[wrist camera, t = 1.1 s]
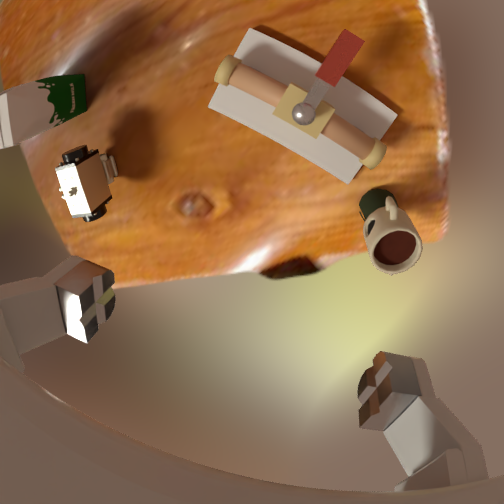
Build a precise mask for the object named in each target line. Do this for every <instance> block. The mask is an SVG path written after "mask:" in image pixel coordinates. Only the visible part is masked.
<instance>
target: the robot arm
mask: <svg viewBox="0 0 504 504" xmlns="http://www.w3.org/2000/svg"><path fill="white" fill-rule="evenodd" d="M114 283H115V280H114V273H113V272H112V271H111V270H109V269H107V268H105V267H102V266H100V265H97V264H95V263H93V262H90V261H88V260H85V259H83V258H81V257H78V256H70V257H69V258H68V259H66V260H65V261H63V262H62V263H61V264H59V265H58V266H57V267H56V268H54V269H53V270H51V271H50V272H49V273H47V274H46V275H45V276H43V277H42V278H40V277H34V278H30V279H25V280H21V281H17V282H12V283H8V284H4V285H0V504H504V475H501V476H498V477H494V478H490V479H489V478H488V472H487V468H486V463H485V459H484V455H483V450H482V447H481V445H480V444H479V442H478V441H477V440H476V439H475V438H474V437H473V435H472V434H471V433H470V432H469V431H468V430H467V429H466V427H465V426H464V425H463V424H462V423H461V422H460V421H459V419H458V418H457V417H456V416H455V415H454V414H453V413H452V412H451V411H450V409H449V408H448V407H447V406H446V405H445V404H444V403H443V402H442V401H441V400H440V399H439V398H436V396H435V393H434V389H433V386H432V383H431V379H430V376H429V373H428V369H427V366H426V363H425V361H424V360H423V359H422V358H416V357H410V356H409V357H407V356H403V355H397V354H393V353H388V352H382V351H380V352H379V353H378V354H376V356H375V357H374V359H373V366H372V367H370V368H368V369H367V370H365V372H364V374H363V375H362V377H361V379H360V382H359V385H358V399H359V401H360V402H361V403H362V407H361V408H360V409H359V427H360V428H363V429H370V430H378V431H384V432H383V433H384V435H385V437H386V438H387V440H388V442H389V443H390V445H391V447H392V449H393V450H394V452H395V454H396V456H397V457H398V459H399V461H400V463H401V464H402V466H403V468H404V470H405V471H406V473H407V475H408V478H406V479H405V480H403V481H402V482H400V483H398V484H397V485H396V486H395V491H391V492H390V491H389V492H361V491H338V490H326V489H316V488H306V487H299V486H293V485H286V484H280V483H274V482H269V481H264V480H259V479H254V478H250V477H245V476H241V475H237V474H233V473H229V472H225V471H222V470H218V469H215V468H211V467H208V466H205V465H201V464H198V463H195V462H192V461H189V460H186V459H183V458H180V457H177V456H175V455H172V454H169V453H167V452H164V451H162V450H159V449H156V448H154V447H152V446H149V445H147V444H145V443H142V442H140V441H138V440H135V439H133V438H131V437H129V436H127V435H124V434H122V433H120V432H118V431H116V430H114V429H112V428H110V427H108V426H106V425H104V424H102V423H100V422H98V421H96V420H95V419H93V418H91V417H89V416H87V415H85V414H84V413H82V412H80V411H78V410H77V409H75V408H74V407H72V406H70V405H69V404H67V403H65V402H64V401H62V400H60V399H59V398H57V397H56V396H54V395H53V394H51V393H50V392H48V391H47V390H45V389H44V388H42V387H41V386H39V385H38V384H37V383H35V382H34V381H32V380H31V379H29V378H28V377H26V376H25V375H24V374H23V373H22V372H23V371H24V364H23V362H22V360H21V358H20V354H23V353H25V352H27V351H29V350H32V349H34V348H36V347H38V346H41V345H43V344H45V343H47V342H50V341H52V340H54V339H57V338H59V337H61V336H63V335H66V333H67V334H69V335H71V336H73V337H75V338H77V339H79V340H81V341H83V342H85V343H88V342H89V341H90V339H91V338H92V337H93V336H94V335H95V334H96V332H97V331H98V324H100V323H103V322H106V321H107V320H108V319H109V317H110V316H111V314H112V312H113V310H114V307H115V293H114V291H113V289H112V288H111V286H112V285H113V284H114Z"/></svg>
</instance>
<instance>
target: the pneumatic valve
mask: <svg viewBox="0 0 504 504" xmlns="http://www.w3.org/2000/svg"><path fill="white" fill-rule="evenodd" d="M62 158H63V161H64V162H63V163H62V162H61V163H59V166H58V167H56V168H55V170H56V173H57V176H58V179H59V182H60V185H61V187H60V188H59V191H63V193H64V194H63V195H62V198H63V199H66V202H67V204H68V207H69V210H70V212H71V215H72V217H73V218H78V217H83V219H84V221H85V222H90V221H94V220H96V219H99V218H100V217H102V216H103V215H104V214H105V213H106V212H107V209H106V206H105V204H108V203H109V201H110V200H111V199H112V195H111V192H110V189H109V186H108V184H110V183H112V182H113V181H114V178H113V176H115V177H117V175H118V170H117V167H116V163H115V159H114V157H113V156H112V155H111V156H109V158H108V157H107V154H106V153H104V154H101V155H99V151H98V149H96V150H93V149H92V150H90V151H88V148H87V145H82V146H79V147H76V148H74V149H71V150H69V151H67V152H65V153H64V154H62Z"/></svg>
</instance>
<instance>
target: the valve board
mask: <svg viewBox="0 0 504 504" xmlns="http://www.w3.org/2000/svg"><path fill="white" fill-rule="evenodd" d="M320 65H321V63H320V62H318V61H316V60H314V59H313V58H311V57H309V56H307V55H305V54H303V53H302V52H300V51H298V50H296V49H294V48H292V47H290V46H288V45H286V44H284V43H282V42H280V41H278V40H276V39H274V38H271V37H269V36H267V35H265V34H263V33H260V32H258V31H256V30H254V29H251V28H249V30H248V31H247V33H246V35H245V37H244V38H243V40H242V42H241V44H240V45H239V47H238V49H237V51H236V53H235V55H234V56H232V55H228V56H226V57H225V59H224V60H223V61H222V63H221V64H220V66H219V68H218V70H217V72H216V75H215V78H214V81H215V82H217V83H219V85H218V87H217V89H216V91H215V93H214V95H213V97H212V99H211V101H210V103H209V106H208V107H209V108H211V109H213V110H215V111H217V112H219V113H222V114H224V115H226V116H228V117H230V118H232V119H234V120H236V121H238V122H240V123H242V124H244V125H246V126H248V127H250V128H252V129H254V130H255V131H257V132H259V133H261V134H263V135H265V136H267V137H269V138H270V139H272V140H274V141H276V142H278V143H280V144H281V145H283V146H285V147H287V148H289V149H290V150H292V151H294V152H296V153H297V154H299V155H301V156H302V157H304V158H306V159H308V160H309V161H311V162H313V163H314V164H316V165H318V166H319V167H321V168H323V169H324V170H326V171H327V172H329V173H331V174H332V175H334V176H335V177H337V178H339V179H340V180H342V181H343V182H345V183H346V184H349V183H350V181H351V180H352V179H353V177H354V176H355V174H356V173H357V172H358V170H359V169H360V168H361V166H362V165H365V166H366V167H368V168H369V169H373V168H375V167H376V166H377V165H378V164H379V163H380V162H381V160H382V159H383V157H384V155H385V153H386V149H387V146H386V145H385V144H384V143H383V142H381V141H380V140H381V138H382V137H383V135H384V134H385V133H386V131H387V130H388V128H389V127H390V125H391V124H392V123H393V121H394V120H395V118H396V117H397V114H396V113H395V112H393V111H392V110H391V109H389V108H388V107H387V106H385V105H384V104H383V103H381V102H380V101H379V100H377V99H376V98H374V97H373V96H372V95H370V94H369V93H367V92H366V91H364V90H363V89H361V88H360V87H358V86H357V85H355V84H354V83H352V82H351V81H349V80H348V79H346V78H345V77H343V76H342V77H341V78H340V80H339V82H338V83H337V85H336V86H335V87H333V86H332V85H331V86H330V87H329V89H328V91H327V92H326V94H325V95H324V97H323V98H322V100H321V102H320V103H319V105H318V106H317V108H316V109H315V113H316V117H315V120H314V121H313V122H312V123H311V124H309V125H305V126H304V125H299V124H297V123H296V122H295V121H294V120H293V117H292V110H293V108H294V106H295V105H296V104H298V103H300V102H303V100H304V98H305V97H306V95H307V93H308V92H309V90H310V89H311V87H312V85H313V84H314V82H315V81H316V79H317V77H316V76H315V73H316V72H317V70H318V68H319V67H320Z"/></svg>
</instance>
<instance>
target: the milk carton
mask: <svg viewBox="0 0 504 504" xmlns="http://www.w3.org/2000/svg"><path fill="white" fill-rule="evenodd" d="M86 111H87V107H86V94H85V77H84V74H79V75H61V76H53V77H48V78H44V79H40V80H37V81H33V82H29V83H26V84H22V85H19V86H17V87H12V89H11V88H10V90H9V89H7V90H5V91H3V92H1V93H0V149H2V148H7V147H11V146H15V145H18V144H20V142H22V141H25V140H27V139H30V138H32V137H34V136H36V135H38V134H40V133H42V132H44V131H47V130H49V129H51V128H53V127H55V126H58V125H60V124H62V123H64V122H66V121H68V120H70V119H72V118H74V117H76V116H78V115H80V114H82V113H84V112H86Z"/></svg>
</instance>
